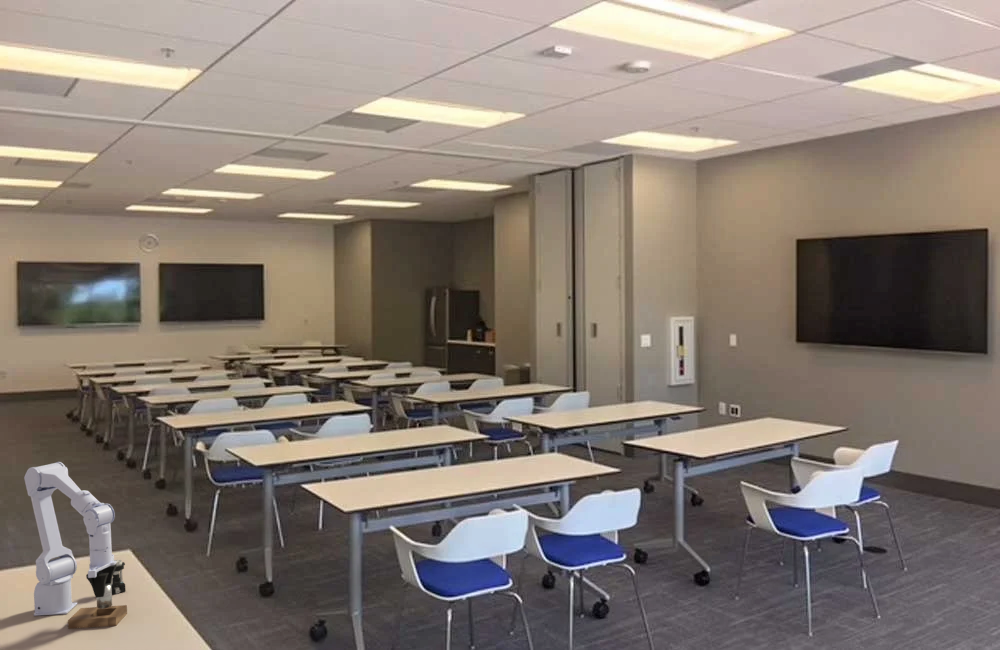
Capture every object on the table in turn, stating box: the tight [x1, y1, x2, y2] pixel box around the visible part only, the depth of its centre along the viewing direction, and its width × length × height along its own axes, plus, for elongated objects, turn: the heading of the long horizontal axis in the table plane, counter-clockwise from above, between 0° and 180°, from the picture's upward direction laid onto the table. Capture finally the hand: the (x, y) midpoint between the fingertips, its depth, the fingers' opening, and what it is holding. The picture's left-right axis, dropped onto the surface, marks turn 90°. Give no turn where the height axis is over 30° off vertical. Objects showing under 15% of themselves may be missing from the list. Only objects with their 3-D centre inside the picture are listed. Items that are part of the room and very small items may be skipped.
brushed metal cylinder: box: [95, 583, 113, 609], centre depth 235 cm, size 4×4×6 cm
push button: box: [111, 559, 127, 595], centre depth 257 cm, size 7×5×10 cm
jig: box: [67, 604, 128, 630], centre depth 235 cm, size 13×9×2 cm
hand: (102, 593), depth 235 cm, fingers closed on brushed metal cylinder, 4 cm apart
